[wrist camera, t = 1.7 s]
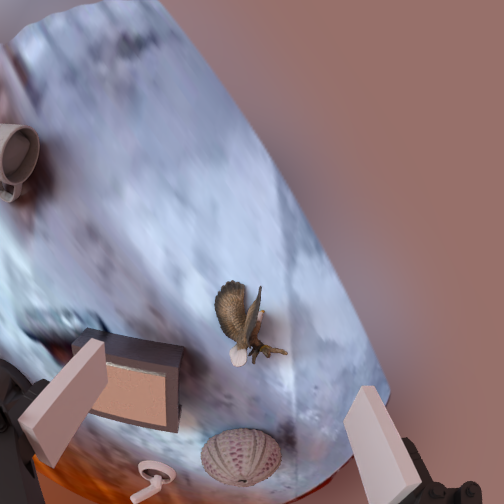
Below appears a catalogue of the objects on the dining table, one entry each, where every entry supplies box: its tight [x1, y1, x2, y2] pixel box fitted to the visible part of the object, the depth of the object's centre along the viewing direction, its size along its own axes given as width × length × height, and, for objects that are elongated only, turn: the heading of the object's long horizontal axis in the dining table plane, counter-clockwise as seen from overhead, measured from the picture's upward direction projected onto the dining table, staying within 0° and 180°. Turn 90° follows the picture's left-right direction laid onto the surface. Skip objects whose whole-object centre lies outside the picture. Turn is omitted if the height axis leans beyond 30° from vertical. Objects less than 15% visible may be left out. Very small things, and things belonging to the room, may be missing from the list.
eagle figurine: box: [214, 280, 288, 367], centre depth 32 cm, size 8×7×9 cm
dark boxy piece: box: [71, 328, 184, 433], centre depth 33 cm, size 12×14×5 cm
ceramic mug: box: [0, 124, 40, 203], centre depth 24 cm, size 11×8×8 cm
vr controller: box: [130, 460, 176, 504], centre depth 37 cm, size 8×12×7 cm
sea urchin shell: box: [201, 428, 282, 487], centre depth 36 cm, size 13×14×8 cm
